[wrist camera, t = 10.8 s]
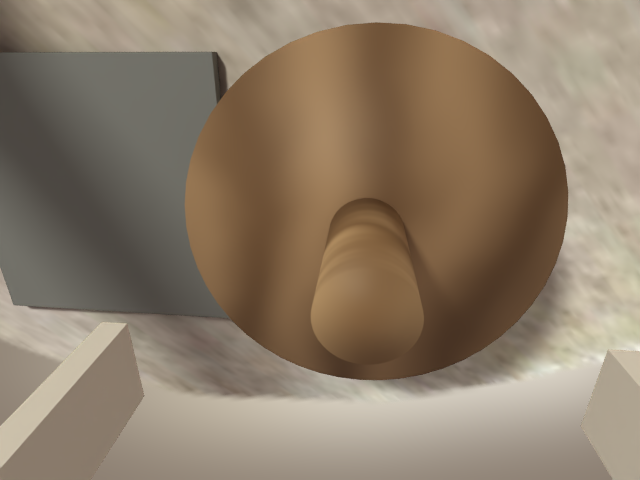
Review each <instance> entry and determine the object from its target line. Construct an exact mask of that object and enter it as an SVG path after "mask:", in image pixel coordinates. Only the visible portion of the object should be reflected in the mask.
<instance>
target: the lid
mask: <svg viewBox="0 0 640 480" xmlns="http://www.w3.org/2000/svg"><path fill="white" fill-rule="evenodd" d="M567 214H568V186H567V178H566V169H565V164H564V161H563V157H562V154H561V150H560V147H559V143H558V140H557V138H556V136H555V134H554V132H553V130H552V127H551V125H550V123H549V121H548V119H547V117H546V115H545V114H544V112H543V111H542V109H541V108H540V106H539V105H538V103H537V102H536V100H535V99H534V97H533V96H532V94H531V93H530V92H529V91H528V90H527V89H526V88H525V87H524V86H523V85H522V84H521V82H520V81H519V80H518V79H517V78H516V77H515V76H514V75H513V74H512V73H511V72H510V71H508V70H507V69H506V68H505V67H503V66H502V65H501V64H499V63H498V62H497V61H496V60H494V59H493V58H492V57H491V56H489V55H487V54H486V53H484V52H482V51H480V50H479V49H477V48H475V47H473V46H471V45H470V44H468V43H466V42H464V41H462V40H459V39H457V38H454V37H451V36H449V35H446V34H443V33H441V32H438V31H435V30H430V29H426V28H421V27H416V26H411V25H407V24H391V23H365V24H353V25H345V26H340V27H336V28H332V29H328V30H323V31H319V32H316V33H313V34H311V35H308V36H306V37H303V38H301V39H298V40H295V41H293V42H290V43H289V44H287V45H285V46H283V47H282V48H280V49H278V50H276V51H275V52H273V53H271V54H269V55H268V56H266V57H265V58H263V59H262V60H261V61H259V62H258V63H257V64H256V65H254V66H253V67H252V68H250V69H249V70H248V71H247V72H245V73H244V74H243V75H242V76H241V77H240V78H239V79H238V80H237V81H236V82H235V83H234V84H233V85H232V86H231V88H230V89H229V90H228V91H227V92H226V93H225V94H224V95H223V97H222V98H221V100H220V101H219V102H218V104H217V105H216V107H215V108H214V109H213V111H212V112H211V114H210V115H209V117H208V119H207V121H206V123H205V125H204V127H203V129H202V131H201V133H200V135H199V137H198V140H197V142H196V145H195V148H194V151H193V154H192V157H191V160H190V165H189V170H188V175H187V180H186V191H185V216H186V228H187V232H188V237H189V242H190V247H191V250H192V253H193V256H194V259H195V262H196V265H197V267H198V270H199V272H200V274H201V276H202V278H203V280H204V282H205V284H206V286H207V288H208V289H209V291H210V292H211V294H212V295H213V297H214V298H215V300H216V301H217V303H218V304H219V306H220V307H221V308H222V309H223V310H224V312H225V313H226V314H227V315H228V316H229V318H230V319H231V320H232V321H233V322H234V323H235V324H236V325H237V326H238V327H239V328H241V329H242V330H243V331H244V332H245V333H246V334H247V335H248V336H250V337H251V338H252V339H253V340H255V341H256V342H257V343H259V344H260V345H261V346H263V347H264V348H266V349H268V350H269V351H271V352H273V353H274V354H276V355H278V356H279V357H281V358H283V359H286V360H288V361H290V362H292V363H294V364H296V365H299V366H301V367H304V368H307V369H310V370H313V371H316V372H319V373H323V374H328V375H332V376H336V377H342V378H351V379H359V380H387V379H400V378H406V377H411V376H417V375H422V374H426V373H429V372H432V371H436V370H439V369H443V368H445V367H447V366H450V365H452V364H455V363H457V362H459V361H462V360H464V359H466V358H468V357H469V356H471V355H473V354H475V353H477V352H478V351H480V350H482V349H484V348H485V347H486V346H488V345H489V344H491V343H492V342H493V341H495V340H496V339H498V338H499V337H500V336H502V335H503V334H504V333H505V332H506V331H507V330H508V329H509V328H510V327H512V326H513V325H514V324H515V323H516V322H517V321H518V320H519V319H520V318H521V316H522V315H523V314H524V313H525V312H526V311H527V310H528V308H529V307H530V306H531V305H532V304H533V302H534V301H535V299H536V298H537V296H538V295H539V293H540V292H541V290H542V289H543V287H544V286H545V284H546V282H547V280H548V278H549V276H550V274H551V272H552V270H553V268H554V266H555V264H556V261H557V258H558V255H559V252H560V249H561V246H562V243H563V239H564V233H565V228H566V222H567Z"/></svg>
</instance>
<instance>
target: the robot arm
mask: <svg viewBox="0 0 640 480" xmlns="http://www.w3.org/2000/svg"><path fill="white" fill-rule="evenodd" d="M143 397H144V393H143V388H142V384H141V380H140V376H139V371H138V367H137V363H136V359H135V354H134V350H133V346H132V341H131V337H130V333H129V329H128V324H127V323H109V322H102V323H101V324H100V325H99V326H98V327H97V328H96V329H95V330H94V331H93V332H92V333H91V334H90V335H89V336H88V337H87V338H86V339H85V340H84V341H83V342H82V343H81V344H80V345H79V346H78V347H77V348H76V349H75V350H74V351H73V352H72V353H71V354H70V355H69V356H68V357H67V358H66V359H65V360H64V362H63V363H62V364H61V365H60V366H59V367H58V368H57V369H56V370H55V371H54V372H53V373H52V374H51V375H50V376H49V377H48V378H47V379H46V380H45V381H44V382H43V383H42V384H41V385H40V386H39V387H38V388H37V389H36V390H35V391H34V392H33V393H32V394H31V395H30V396H29V397H28V398H27V400H25V402H24V403H23V404H22V405H21V406H20V407H19V408H18V409H17V410H16V411H15V412H14V413H13V414H12V415H11V416H10V417H9V418H8V419H7V420H6V421H5V422H4V423H3V424H2V425H1V426H0V480H91V479H92V477H93V476H94V474H95V472H96V471H97V469H98V468H99V466H100V465H101V463H102V462H103V460H104V458H105V457H106V455H107V454H108V452H109V450H110V449H111V447H112V446H113V444H114V443H115V441H116V440H117V438H118V436H119V435H120V433H121V432H122V430H123V429H124V427H125V425H126V424H127V422H128V421H129V419H130V418H131V416H132V414H133V413H134V411H135V410H136V408H137V407H138V405H139V403H140V402H141V400H142V399H143ZM581 428H582V429H583V431H584V433H585V434H586V436H587V438H588V439H589V441H590V443H591V444H592V446H593V447H594V449H595V451H596V452H597V454H598V456H599V458H600V459H601V461H602V463H603V464H604V466H605V468H606V469H607V471H608V473H609V474H610V476H611V478H612V479H613V480H640V352H639V351H626V350H608V351H607V354H606V357H605V359H604V362H603V365H602V368H601V371H600V374H599V376H598V379H597V382H596V385H595V388H594V390H593V393H592V396H591V399H590V402H589V404H588V407H587V410H586V413H585V415H584V418H583V421H582V424H581Z"/></svg>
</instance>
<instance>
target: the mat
mask: <svg viewBox="0 0 640 480" xmlns="http://www.w3.org/2000/svg"><path fill="white" fill-rule="evenodd" d="M220 100H221V95H220V84H219V73H218V62H217V52H0V268H1V270H2V273H3V276H4V279H5V282H6V285H7V287H8V290H9V293H10V296H11V299H12V302H13V304H14V305H20V306H36V307H53V308H69V309H86V310H102V311H119V312H135V313H152V314H168V315H185V316H201V317H218V318H229V316H228V315H227V314H226V313H225V312H224V310H223V309H222V308H221V307H220V306H219V304H218V303H217V301H216V300H215V298H214V297H213V295H212V294H211V292H210V291H209V289H208V288H207V286H206V284H205V282H204V280H203V278H202V276H201V274H200V272H199V270H198V267H197V265H196V262H195V259H194V256H193V253H192V250H191V247H190V242H189V237H188V232H187V228H186V216H185V191H186V180H187V175H188V170H189V165H190V160H191V157H192V154H193V151H194V148H195V145H196V142H197V140H198V137H199V135H200V133H201V131H202V129H203V127H204V125H205V123H206V121H207V119H208V117H209V115H210V114H211V112H212V111H213V109H214V108H215V107H216V105H217V104H218V102H219V101H220Z"/></svg>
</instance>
